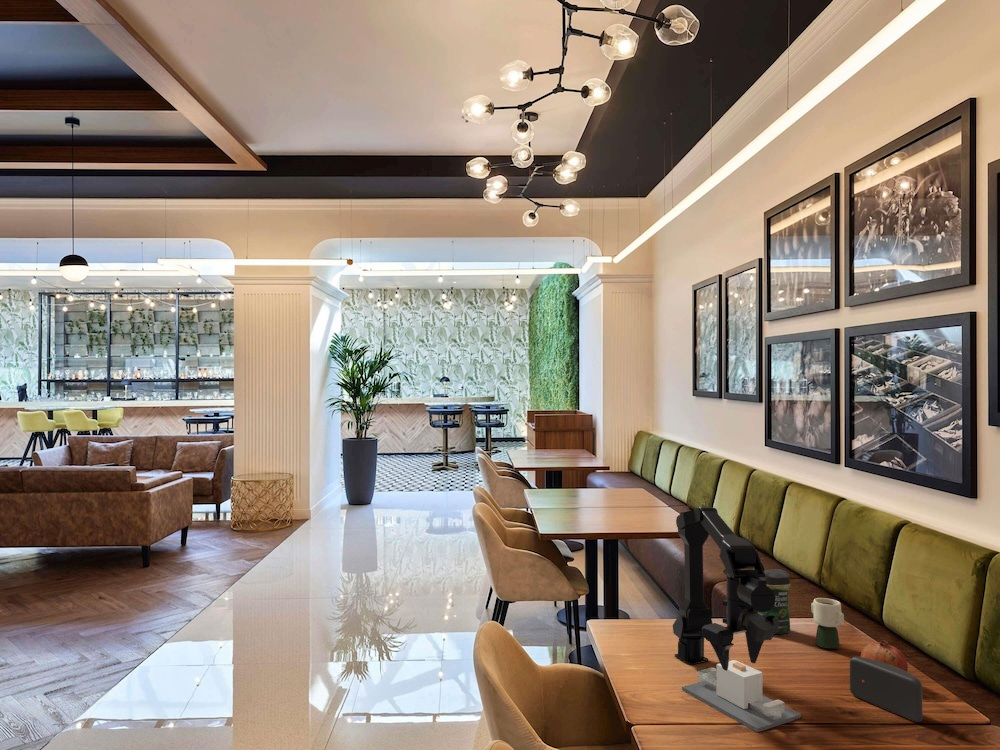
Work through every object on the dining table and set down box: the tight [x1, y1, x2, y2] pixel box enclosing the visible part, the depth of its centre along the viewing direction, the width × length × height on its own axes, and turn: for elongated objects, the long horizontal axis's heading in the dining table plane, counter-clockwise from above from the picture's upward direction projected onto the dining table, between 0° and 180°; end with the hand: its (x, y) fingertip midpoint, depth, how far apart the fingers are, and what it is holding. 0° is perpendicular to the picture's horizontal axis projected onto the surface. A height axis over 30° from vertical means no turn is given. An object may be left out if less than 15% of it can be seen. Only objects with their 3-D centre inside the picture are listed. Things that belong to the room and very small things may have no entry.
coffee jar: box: [758, 568, 791, 635], centre depth 197 cm, size 10×8×19 cm
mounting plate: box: [681, 678, 802, 733], centre depth 148 cm, size 14×22×1 cm, turn 28°
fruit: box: [860, 639, 909, 672], centre depth 162 cm, size 11×10×10 cm
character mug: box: [810, 597, 845, 650], centre depth 184 cm, size 11×7×13 cm, turn 21°
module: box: [716, 659, 763, 709], centre depth 149 cm, size 6×8×8 cm
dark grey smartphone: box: [849, 656, 923, 723], centre depth 148 cm, size 16×5×9 cm, turn 29°
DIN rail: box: [697, 667, 786, 721], centre depth 149 cm, size 5×21×3 cm, turn 28°
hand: (739, 666), depth 149 cm, fingers open, 9 cm apart
